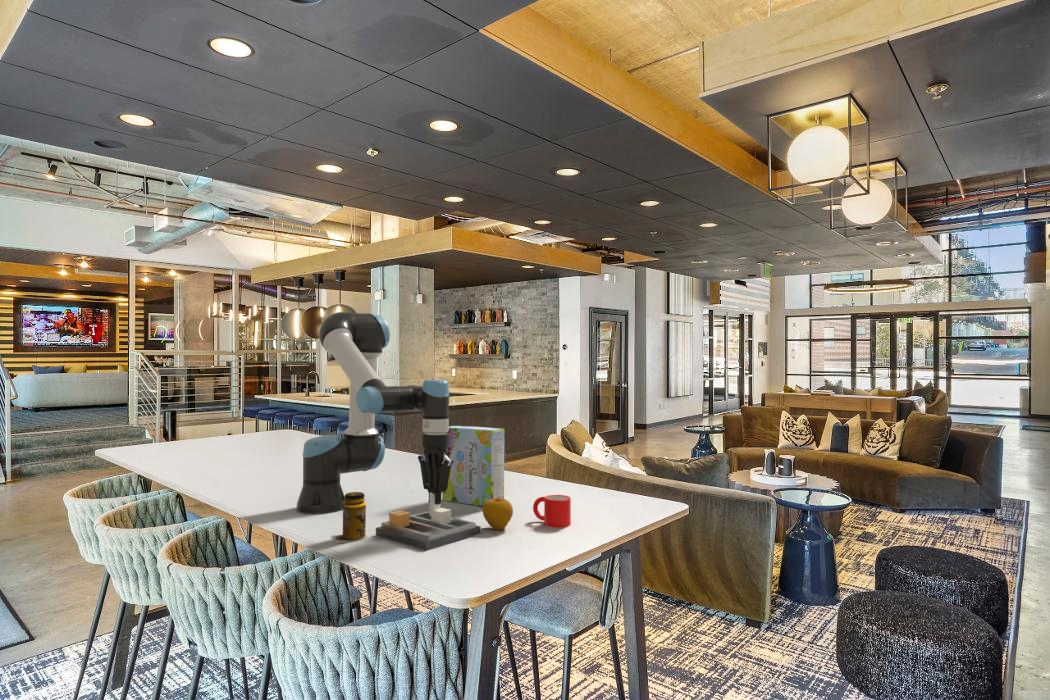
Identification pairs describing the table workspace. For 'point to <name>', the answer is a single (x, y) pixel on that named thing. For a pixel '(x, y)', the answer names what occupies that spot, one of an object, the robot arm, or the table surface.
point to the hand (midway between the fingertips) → (434, 515)
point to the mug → (554, 510)
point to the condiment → (353, 518)
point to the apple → (497, 513)
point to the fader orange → (399, 518)
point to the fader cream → (441, 515)
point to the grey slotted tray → (428, 531)
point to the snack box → (475, 465)
